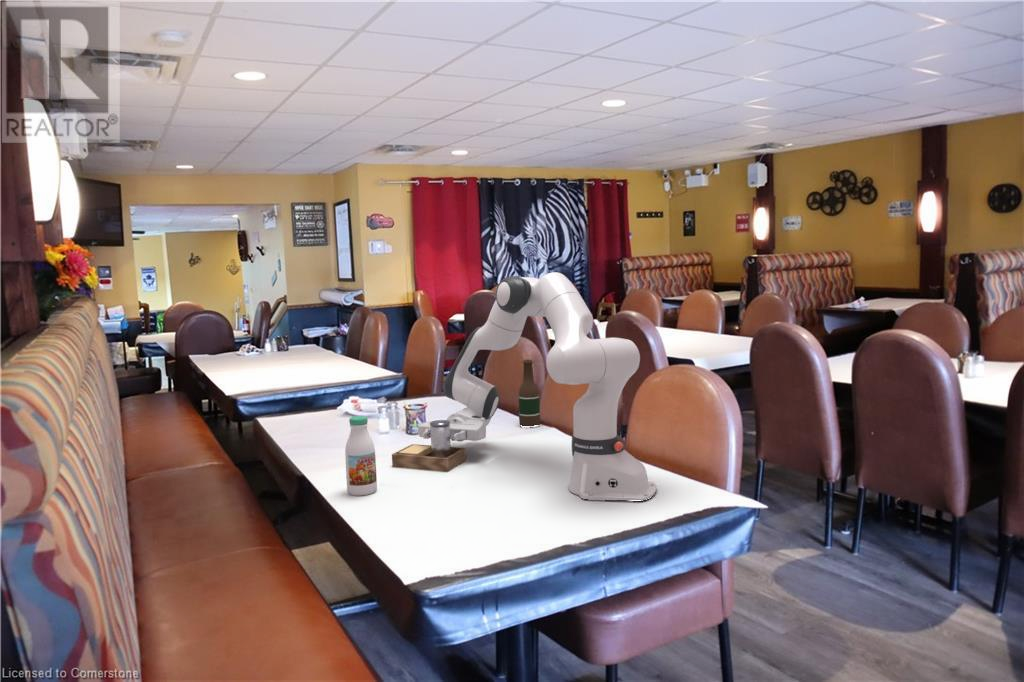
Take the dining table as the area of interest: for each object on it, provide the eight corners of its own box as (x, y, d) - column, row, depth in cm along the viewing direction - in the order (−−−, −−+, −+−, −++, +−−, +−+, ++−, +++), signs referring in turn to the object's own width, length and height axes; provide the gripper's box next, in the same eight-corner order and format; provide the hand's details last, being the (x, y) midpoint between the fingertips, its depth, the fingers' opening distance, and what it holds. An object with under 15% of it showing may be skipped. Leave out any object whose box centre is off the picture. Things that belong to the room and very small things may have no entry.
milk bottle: (341, 494, 187) (336, 419, 185) (360, 485, 194) (356, 413, 191) (364, 498, 183) (360, 421, 181) (383, 489, 190) (379, 415, 188)
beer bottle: (516, 428, 255) (514, 361, 252) (522, 423, 262) (520, 358, 259) (537, 428, 252) (535, 361, 250) (542, 423, 260) (541, 358, 257)
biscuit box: (432, 459, 215) (431, 446, 214) (417, 467, 206) (416, 453, 206) (414, 457, 217) (414, 444, 217) (399, 465, 209) (398, 452, 208)
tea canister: (455, 462, 210) (453, 420, 209) (446, 468, 205) (444, 425, 203) (437, 461, 212) (435, 419, 211) (428, 466, 207) (426, 424, 205)
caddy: (466, 463, 212) (465, 448, 212) (447, 474, 201) (447, 459, 201) (413, 458, 219) (412, 444, 218) (392, 469, 208) (391, 454, 207)
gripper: (429, 414, 223) (407, 424, 210) (489, 417, 215) (470, 428, 203) (430, 434, 224) (408, 445, 211) (490, 438, 216) (471, 450, 203)
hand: (439, 437), depth 207 cm, fingers open, 8 cm apart
